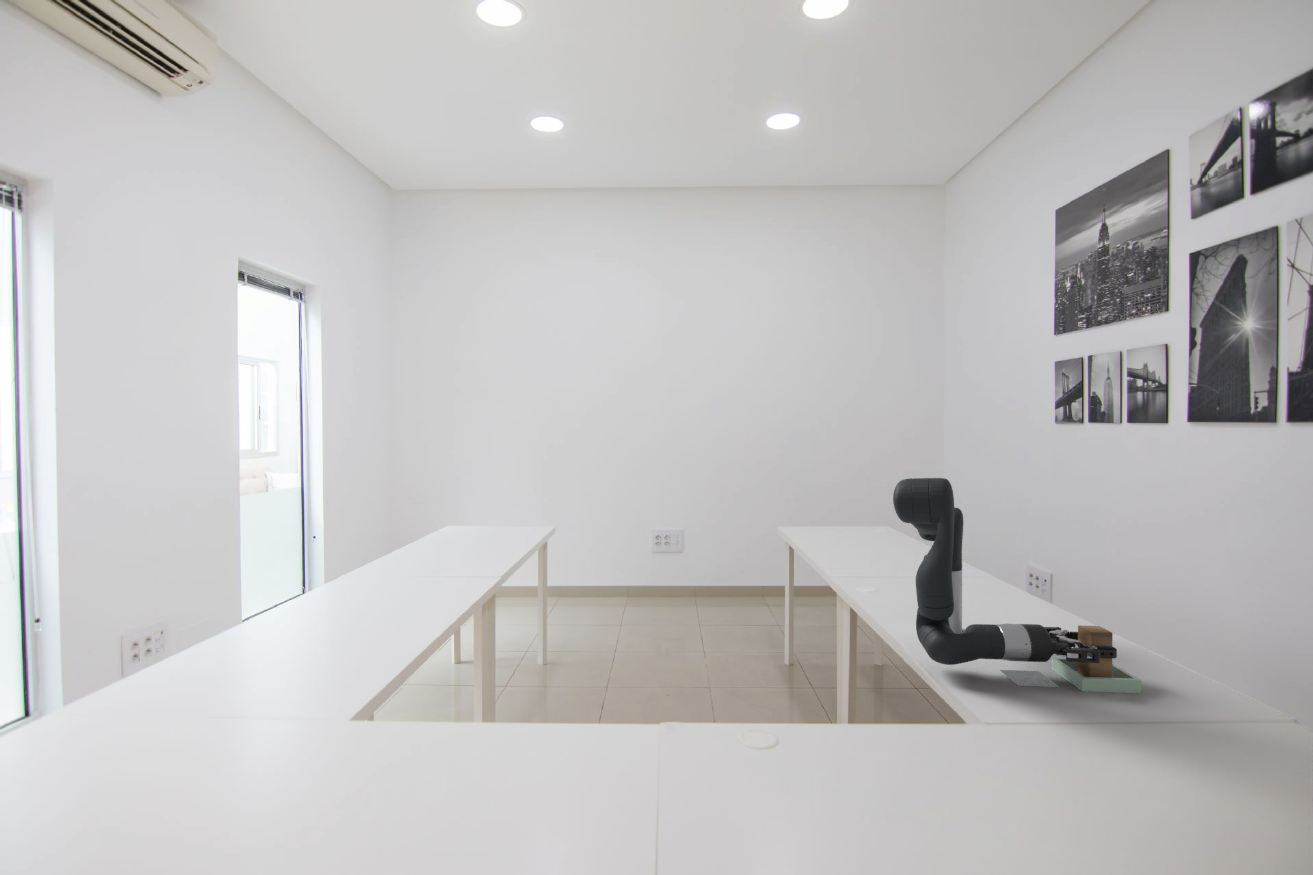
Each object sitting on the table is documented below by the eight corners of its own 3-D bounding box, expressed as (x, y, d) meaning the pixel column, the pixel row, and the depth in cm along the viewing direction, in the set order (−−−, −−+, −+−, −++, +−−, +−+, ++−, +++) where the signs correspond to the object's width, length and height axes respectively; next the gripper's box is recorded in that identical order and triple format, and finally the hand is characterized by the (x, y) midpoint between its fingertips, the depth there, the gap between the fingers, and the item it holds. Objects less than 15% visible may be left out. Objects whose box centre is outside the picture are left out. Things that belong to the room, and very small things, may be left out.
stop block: (1077, 676, 126) (1078, 625, 126) (1098, 677, 126) (1099, 625, 126) (1090, 685, 122) (1090, 632, 122) (1112, 686, 122) (1112, 632, 122)
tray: (1051, 673, 130) (1051, 657, 130) (1104, 675, 129) (1105, 659, 129) (1082, 695, 119) (1082, 678, 119) (1141, 697, 118) (1141, 680, 118)
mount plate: (999, 674, 130) (999, 669, 130) (1038, 675, 129) (1038, 670, 129) (1018, 690, 122) (1018, 685, 122) (1059, 691, 121) (1059, 686, 121)
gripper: (1038, 636, 118) (1125, 638, 117) (1003, 614, 133) (1080, 616, 131) (1038, 673, 118) (1125, 676, 117) (1003, 647, 133) (1080, 649, 131)
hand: (1101, 644), depth 124 cm, fingers open, 8 cm apart
